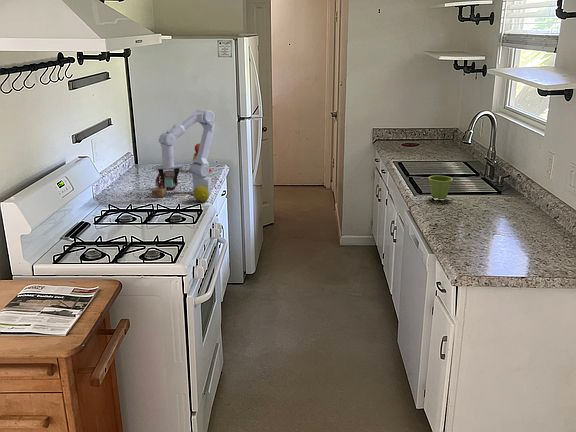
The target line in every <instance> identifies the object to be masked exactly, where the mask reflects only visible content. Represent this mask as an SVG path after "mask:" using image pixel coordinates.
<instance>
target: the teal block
mask: <svg viewBox="0 0 576 432" xmlns="http://www.w3.org/2000/svg"><path fill="white" fill-rule="evenodd" d="M164 182H165V187H166V188H168V187H173V186H175V178H165V179H164Z"/></svg>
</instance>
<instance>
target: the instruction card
mask: <svg viewBox="0 0 576 432" xmlns="http://www.w3.org/2000/svg"><path fill="white" fill-rule="evenodd" d="M189 196H191V193H190V194H187V193H185V194H184V193H175V194H173V195H172V196H171V198H182V199H187V198H188V197H189Z"/></svg>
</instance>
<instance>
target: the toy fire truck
mask: <svg viewBox="0 0 576 432" xmlns="http://www.w3.org/2000/svg"><path fill="white" fill-rule="evenodd" d="M163 173H164V179H166V178H175V173H174V170H163ZM154 181H155V186H156V188H167V189H168V190H170V191H174V189H175V188H176V187H178V185H179V181H178V179H177V181H176V184H175V186H173V187H165V184H163V181H162V178H161V176H160V174H159V173H158V174H157V176H156V179H155V180H154Z"/></svg>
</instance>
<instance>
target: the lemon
mask: <svg viewBox="0 0 576 432" xmlns="http://www.w3.org/2000/svg"><path fill="white" fill-rule="evenodd" d="M193 191H194V194H193V198H194V199H195V200H196V201H198V202H201V203H205V202H207V201H208V199H209V198H210V194H209V191H208V189H207V188H206V187H204V186H198V187H196V188H195V190H194V189H193Z"/></svg>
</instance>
